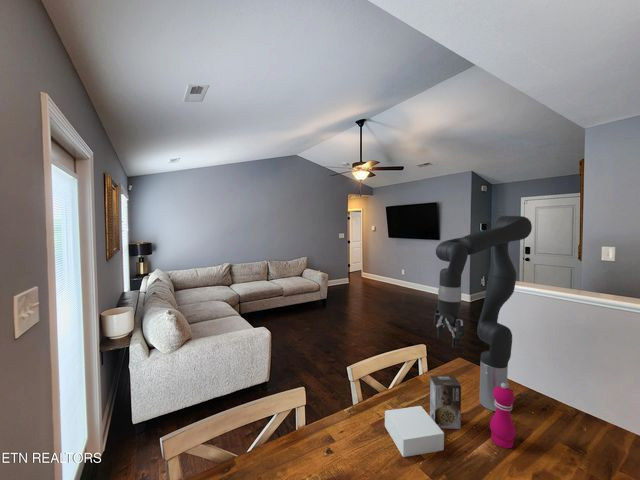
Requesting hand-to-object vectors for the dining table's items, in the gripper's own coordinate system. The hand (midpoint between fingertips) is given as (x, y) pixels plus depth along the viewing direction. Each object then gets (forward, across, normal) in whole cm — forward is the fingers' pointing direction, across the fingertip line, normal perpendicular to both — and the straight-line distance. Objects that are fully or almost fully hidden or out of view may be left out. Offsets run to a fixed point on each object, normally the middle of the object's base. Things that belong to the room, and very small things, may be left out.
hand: (447, 342), depth 104 cm
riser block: (+30, -4, +15) cm, 34 cm away
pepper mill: (+30, -12, -13) cm, 35 cm away
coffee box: (+30, 0, 0) cm, 30 cm away
